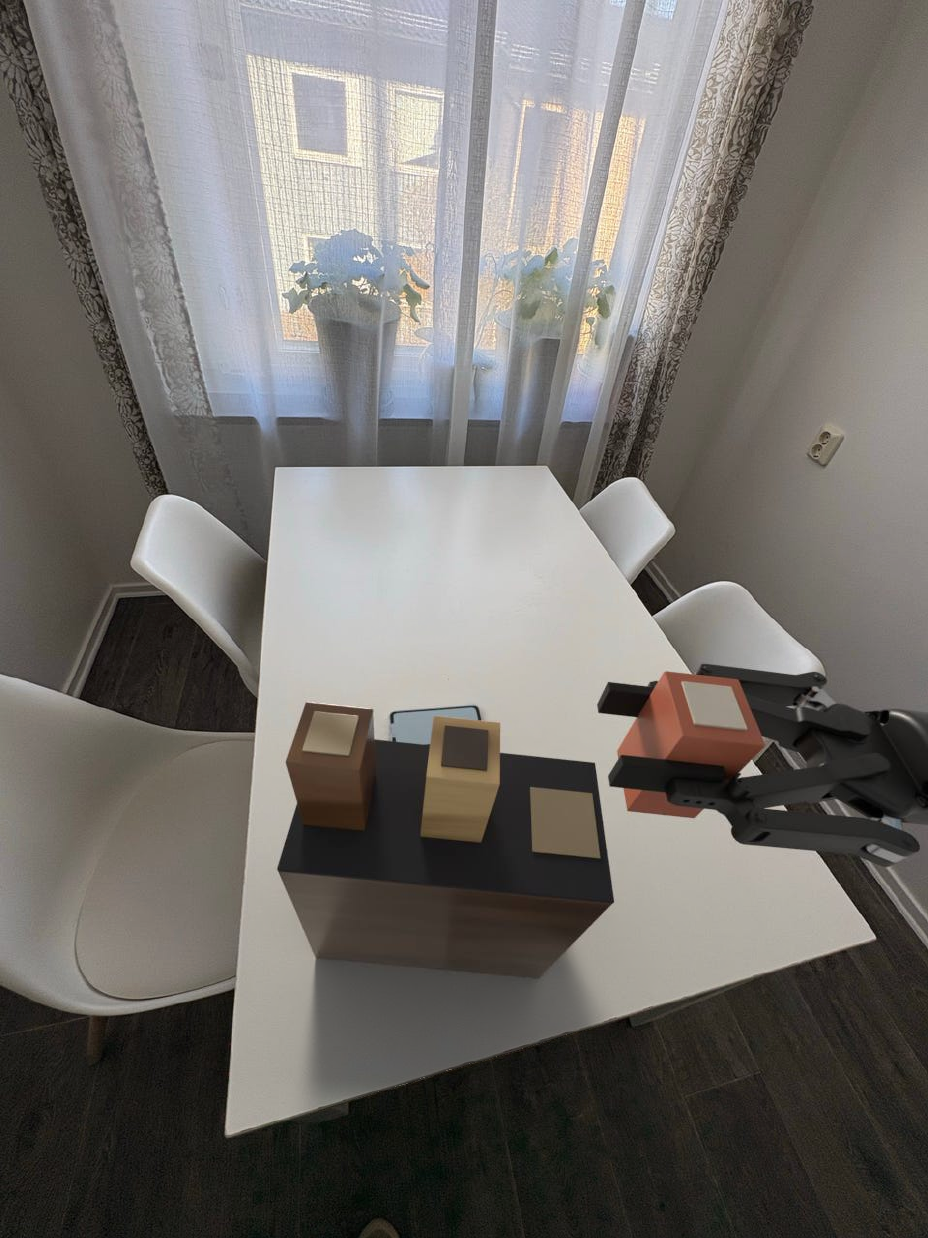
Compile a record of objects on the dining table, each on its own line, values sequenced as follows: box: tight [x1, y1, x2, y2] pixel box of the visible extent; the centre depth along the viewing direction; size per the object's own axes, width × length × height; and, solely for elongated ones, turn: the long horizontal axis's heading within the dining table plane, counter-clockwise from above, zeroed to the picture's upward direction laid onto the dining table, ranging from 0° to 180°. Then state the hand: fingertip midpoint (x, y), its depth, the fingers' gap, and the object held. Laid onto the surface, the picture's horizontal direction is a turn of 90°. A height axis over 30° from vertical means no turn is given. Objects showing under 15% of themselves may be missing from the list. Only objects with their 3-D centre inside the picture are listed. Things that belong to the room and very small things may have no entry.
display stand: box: [277, 870, 613, 980], centre depth 53 cm, size 12×26×28 cm, turn 87°
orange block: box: [616, 670, 766, 819], centre depth 35 cm, size 5×5×10 cm
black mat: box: [276, 738, 615, 905], centre depth 43 cm, size 12×26×1 cm, turn 87°
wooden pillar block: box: [420, 716, 501, 843], centre depth 40 cm, size 5×5×10 cm
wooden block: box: [285, 701, 376, 831], centre depth 39 cm, size 5×5×10 cm
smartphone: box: [388, 704, 484, 745], centre depth 81 cm, size 7×1×15 cm
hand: (609, 732), depth 34 cm, fingers closed on orange block, 5 cm apart
